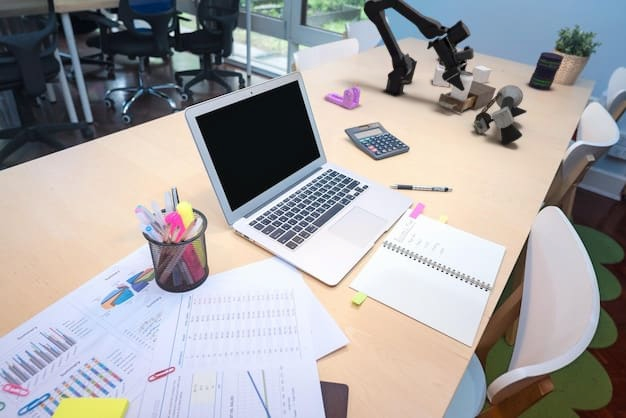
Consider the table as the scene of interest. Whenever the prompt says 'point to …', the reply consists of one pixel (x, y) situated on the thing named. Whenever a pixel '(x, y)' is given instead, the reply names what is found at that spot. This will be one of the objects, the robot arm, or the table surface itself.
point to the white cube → (480, 74)
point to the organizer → (481, 94)
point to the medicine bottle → (439, 76)
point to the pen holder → (410, 73)
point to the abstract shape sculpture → (503, 114)
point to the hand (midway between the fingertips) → (465, 87)
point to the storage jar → (545, 71)
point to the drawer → (456, 102)
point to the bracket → (346, 98)
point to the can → (466, 81)
